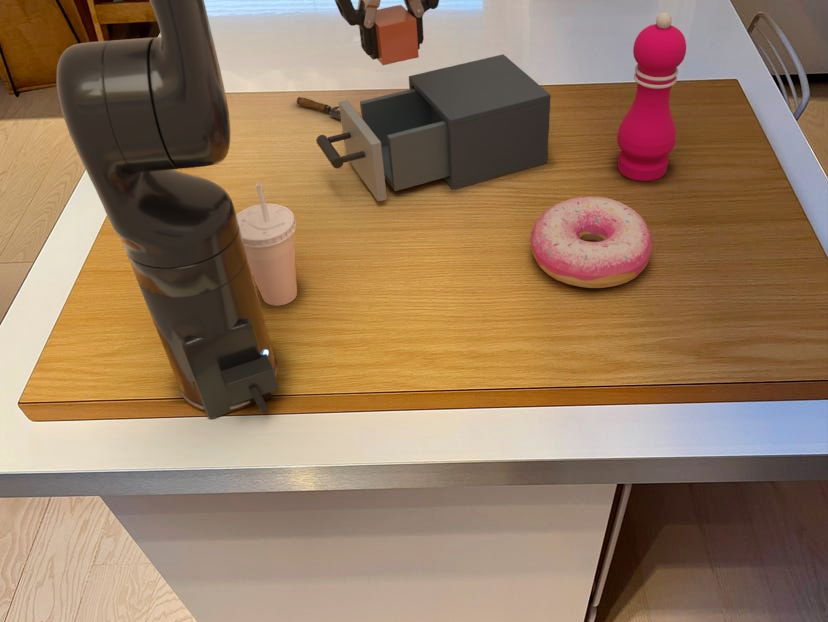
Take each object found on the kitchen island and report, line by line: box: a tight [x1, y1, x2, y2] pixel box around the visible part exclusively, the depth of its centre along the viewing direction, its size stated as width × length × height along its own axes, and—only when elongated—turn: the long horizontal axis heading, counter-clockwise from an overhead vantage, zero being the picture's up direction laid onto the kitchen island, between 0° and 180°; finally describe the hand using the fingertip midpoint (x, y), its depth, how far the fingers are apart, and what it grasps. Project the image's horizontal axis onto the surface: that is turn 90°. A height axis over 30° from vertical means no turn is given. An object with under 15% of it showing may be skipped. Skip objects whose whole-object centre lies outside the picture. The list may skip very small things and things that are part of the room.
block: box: [374, 4, 419, 66], centre depth 93 cm, size 4×4×4 cm
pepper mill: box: [616, 11, 687, 182], centre depth 99 cm, size 7×7×20 cm
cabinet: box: [408, 53, 552, 191], centre depth 105 cm, size 14×13×10 cm
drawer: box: [315, 88, 450, 202], centre depth 102 cm, size 17×11×8 cm
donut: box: [530, 195, 653, 289], centre depth 91 cm, size 14×13×5 cm
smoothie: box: [236, 182, 298, 307], centre depth 84 cm, size 6×6×14 cm
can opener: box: [296, 96, 341, 120], centre depth 117 cm, size 9×2×1 cm, turn 56°
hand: (393, 51), depth 94 cm, fingers closed on block, 4 cm apart
